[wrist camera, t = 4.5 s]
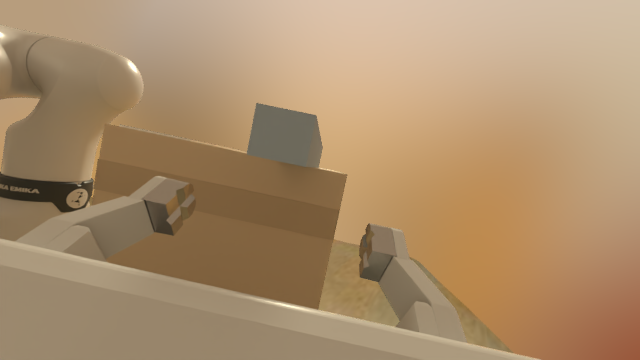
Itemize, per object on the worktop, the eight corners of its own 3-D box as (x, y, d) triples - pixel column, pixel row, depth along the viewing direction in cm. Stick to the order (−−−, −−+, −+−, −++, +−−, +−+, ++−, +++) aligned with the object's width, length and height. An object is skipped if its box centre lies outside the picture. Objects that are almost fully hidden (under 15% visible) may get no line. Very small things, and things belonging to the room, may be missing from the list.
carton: (64, 374, 24) (104, 121, 23) (155, 302, 37) (184, 138, 36) (292, 426, 24) (347, 172, 22) (304, 335, 37) (339, 170, 36)
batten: (246, 154, 14) (256, 103, 14) (295, 162, 36) (299, 143, 36) (305, 166, 14) (316, 115, 14) (318, 167, 36) (322, 147, 35)
